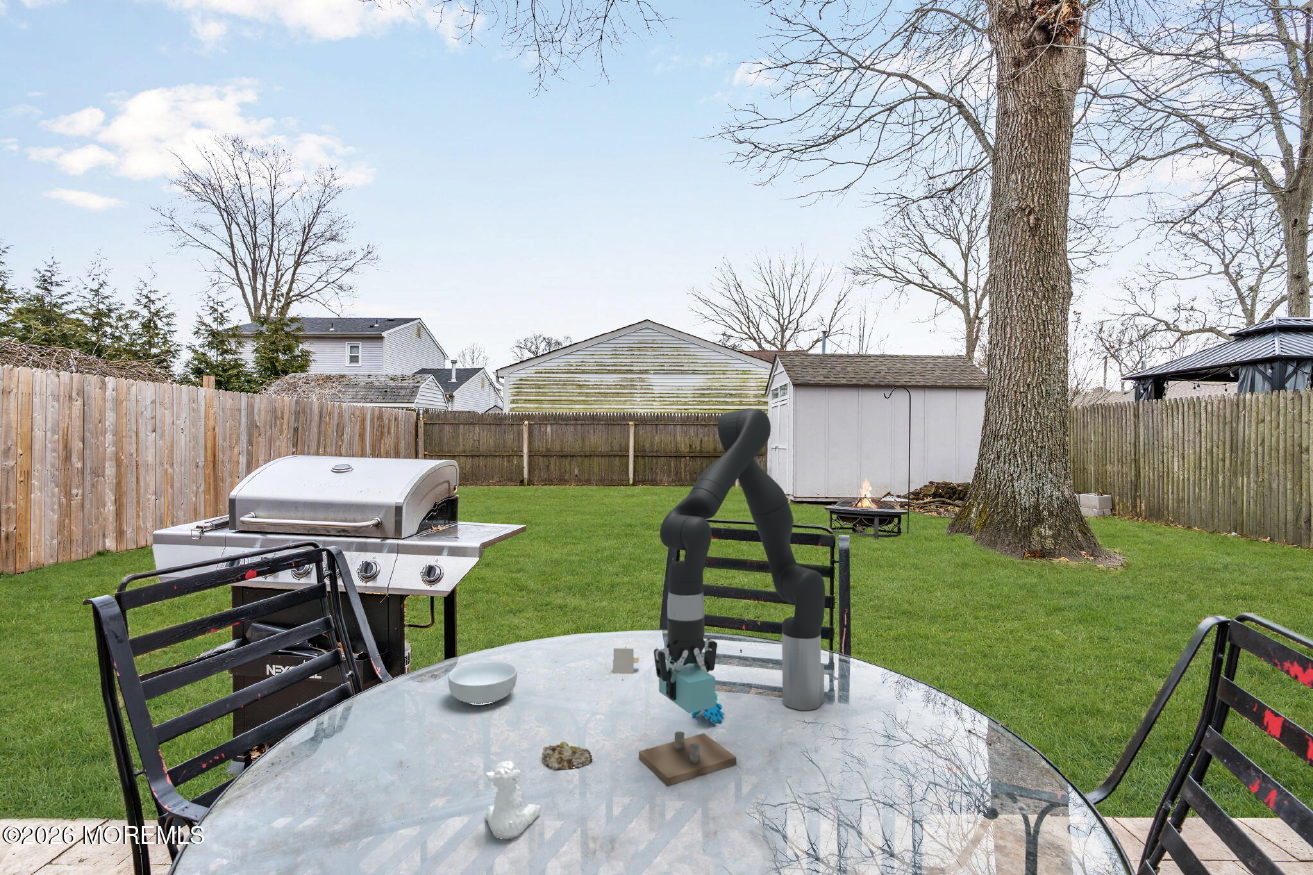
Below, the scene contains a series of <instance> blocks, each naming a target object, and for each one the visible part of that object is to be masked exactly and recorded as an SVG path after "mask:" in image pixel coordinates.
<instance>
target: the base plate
mask: <svg viewBox="0 0 1313 875" xmlns="http://www.w3.org/2000/svg"><path fill="white" fill-rule="evenodd" d="M638 759H639V760H640V761H641V762H642V763H643V764H644V765H645V766H646V767H647V769H649V770H650V771H651V772H652V773H653V774H654V775H656V776H657V777H658V779H660V781H662V782H663V783H664V784H665V785H667V786H668V787H669V786H672V785H676V784H679V783H682V782H686V781H688V780H691V779H695V778H698V777H701V776H704V775H707V774H711V773H713V772H717V771H721V770H723V769H726V768H729V767H732V766H736V765H737V762H738V761H737V756H736V755H735V754H733V753H732V752H730V751H729V750H727V749H726V747H723V745H721V744H720V743H718V742H717V741H715V740H714V739H713V738H711V737H710V736H709V735H707V734H706V733H704V732H703V733H699V734H696V735H692V736H689V737H686V738H685V732H684V731H679V730H678V731H675V732H674V741H670V742H668V743H663V744H660V745H656V746H652V747H650V748H649V747H648V748H646V749H642V750H639V751H638Z"/></svg>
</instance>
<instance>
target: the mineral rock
mask: <svg viewBox="0 0 1313 875" xmlns="http://www.w3.org/2000/svg"><path fill="white" fill-rule="evenodd" d="M541 758H542V764H543V765H544V766H545V767H548V768H550V769H551V770H553V771H554V770H570V769H574V768H573V767H580V768H582V767H583V766H588V765H589V764H590V763H592V762H593V760H594V759H593V755H592V752H591V751H590V749H588V748H583V747H581V746H575V745H569V743H568V742H566V741H561V742H560V743H559V744H555V745H551V744H550V745H548V746H543V748H542V753H541ZM589 762H590V763H589ZM587 764H588V765H587Z"/></svg>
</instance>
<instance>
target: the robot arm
mask: <svg viewBox="0 0 1313 875" xmlns="http://www.w3.org/2000/svg"><path fill="white" fill-rule="evenodd" d="M770 421H771V420H770V418H769V416H768V414H767V413H766V412H765V411H764V410H762V409H760V408H747V409H741V410H735V411H729V412H726V413H723V414H721V415H720V417H719V419H718V421H717V428H716V429H717V435H718V438H719V441H720V444H721V447H722V449H723V451H724V452H725V453H723V454H722V455H721V456H720V457H719V458H718V459H716V460H715V461H714V462H712V463H711V464H710V465H709V466H708V467H706V469H705V470H704V471H703V472H702V473H701V474H700V476H699V477H698V479H697V480H696V481H695V483H694V484H693V486H692V488H691V490H690V491H689V493H688V495H687V496H685V498H683V499H682V500H681V501H680V502H679V503H678V504H677V505H675V506H674V507H673V508H672V509H671V510H670V511H669V512H668V513H667V514H666V515H665V517H664V519H663V520H662V521H661V522H662V523H661V525H660V528H659V537H660V541H661V543H662V545H664V546H665V547H666V548H669V549H673V550H678V551H679V550H680V551H686V555H685V558H684V560H677V561H674V562H672V563H671V564H669V566H668V578H667V579H668V595H667V602H666V603H667V604H666V605H667V611H666V612H667V613H666V614H667V623H666V624H667V627H666V628H667V631H666V634H667V639H668V640H667V641H668V642H667V644H666V646H665V647H664V648H661V649H659V648H655V649H654V650H653V657H654V665H655V670H656V671H655V672H656V676H657V678H658V679H659V678H660V679H662V680H663V681H666V695H667V696H668V697H669V698H670V699H671V700H672V701H673V700H676V682H675V680H676V675H677V674H678V673H679V672H680V671H681V669H682V666H684V665H687V664H693V665H694V666H697V667H698V668H699V669H702V670H704V671H706V672H707V673H709V672H710V671H711V672H713V671H714V670H715V666H716V658H717V656H716V655H717V650H718V643H717V641H715V640H713V639H711V638H706V640H705V639H704V637H705V598H704V570H705V566H706V565H705V564H706V562H707V559H708V558H707V557H708V553H709V550H710V547H711V542H712V538H713V537H712V535H713V533H712V528H711V525H710V524H709V522H708V519H709V520H710V519H712V518H713V517H715V516H716V514H717V513H718V511H719V510H720V508H721V506H722V504H723V503H724V501H725V499H726V497H727V496H728V494H729V492H730V490H731V489H732V487H733V486H734V484H735V483H736V481H737V480H738V482H739V485H740V487H741V489H742V492H743V495H744V497H745V500H746V504H747V506H748V509H749V512H750V515H751V517H752V520H753V523H754V525H755V528H756V531H757V532H758V536H759V537H760V541H761V544H762V547H763V549H764V552H765V555H766V559H767V561H768V565H769V570H770V572H771V578H772V582H773V585H774V589H775V591H776V593H777V595H778V596H779V598H780V599H781V600H782V601H785V602H786V603H789V604H792V605H794V615H793V616H791V617H786V618H785V619H784V620H783V621H782V625H781V626H782V627H781V630H782V631H781V637H782V638H781V641H782V643H781V646H782V648H781V652H782V653H781V654H782V657H781V659H782V664H781V666H782V674H781V675H782V676H781V677H782V678H781V679H782V680H781V681H782V683H781V684H782V687H781V688H782V689H781V690H782V691H781V692H782V703H783V705H785V706H786V707H788V708H789V709H793V710H798V711H811V710H812V711H813V710H815V709H818V708H820V707H821V705H822V704H824V703H825V666H824V663H821V662H822V655H821V654H822V650H821V648H822V643H821V642H822V641H821V640H822V639H821V638H822V635H821V632H822V627H823V624H824V620H825V605H826V604H825V603H826V602H825V601H826V584H825V581H824V580H825V579H824V578H823V576H822V574H821V573H820V572H818V570H813V569H810V568H807V567H804V566H803V567H802V566H800V565H799V564H798V562H797V561H796V558H795V556H794V553H793V551H792V548H791V537H792V533H793V527H794V516H793V513H792V512H793V511H792V509H791V506H790V503H789V501H788V498H787V495H786V493H785V491H784V490H783V488H782V487H781V486H780V484H778V483H777V482H776V481H775V480H774V479H773V478H772V477H771V475H769V473H767V472H766V471H765V470H764V469H763V468H762V467H761V465H759V463H758V462H757V461H756V456H757V455H758V454H759V453H760V452H761V451H762V450H763V448H764V447H765V446H766V444H767V443H768V442H769V439H770V437H771V432H772V430H771V429H772V427H771V422H770ZM703 650H704V655H703V656H704V657H702V652H703ZM668 655H669V658H668ZM667 660H668V661H667ZM666 662H668V664H667V666H668V668H667V667H666ZM675 663H677V664H676V665H675ZM671 671H672V673H671ZM670 699H669V700H670ZM671 700H670V701H671ZM672 701H671V702H672Z"/></svg>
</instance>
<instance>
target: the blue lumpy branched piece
mask: <svg viewBox="0 0 1313 875" xmlns="http://www.w3.org/2000/svg"><path fill="white" fill-rule="evenodd" d="M718 696H719V695H718V694H717V692H715V707H714V708H710V709H706V710H701V711H697V712H693V713H690V714H691V716H692V718H696V716H698V715H699V714H700V713H701V712H702V711H703V712H704V713H703V715H702V717H704V719H705V720H708V719H709V718H710V717H711V718H710V719H709V720H710V722H711V723H713V724H716V723H721V722H723V717H724V716H725V713H724V712H723V711H722V709H723V706H722V704H721V703H719V702H718Z"/></svg>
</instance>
